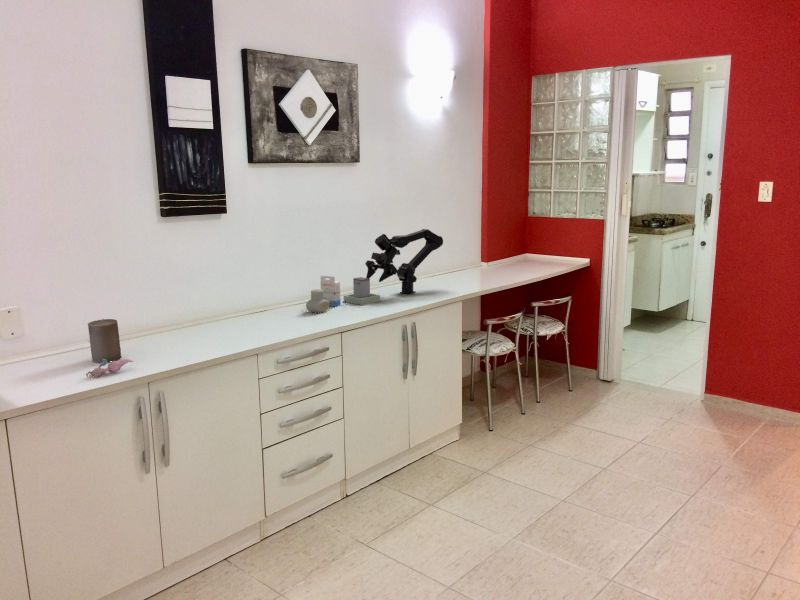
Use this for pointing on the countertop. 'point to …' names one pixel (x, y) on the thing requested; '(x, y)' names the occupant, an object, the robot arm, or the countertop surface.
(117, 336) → the pillar candle
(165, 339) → the countertop surface
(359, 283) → the grey rectangular block
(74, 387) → the countertop surface
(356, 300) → the tray
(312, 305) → the beige rounded blocky piece
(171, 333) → the countertop surface
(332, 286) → the ink box
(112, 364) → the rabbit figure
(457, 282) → the countertop surface
